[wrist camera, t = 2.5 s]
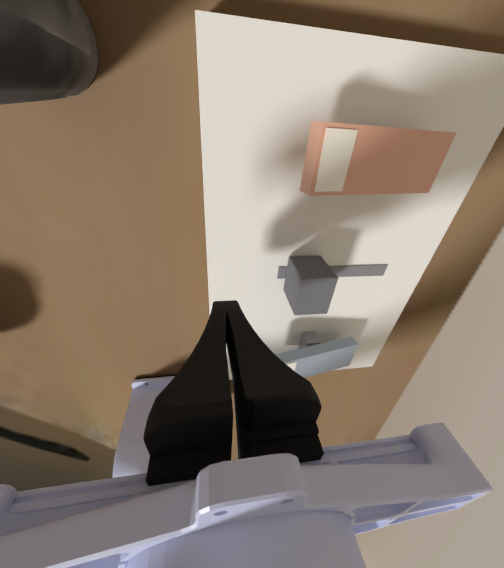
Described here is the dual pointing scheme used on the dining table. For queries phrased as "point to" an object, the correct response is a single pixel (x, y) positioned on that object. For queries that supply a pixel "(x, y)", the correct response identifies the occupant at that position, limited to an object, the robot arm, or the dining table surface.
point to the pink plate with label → (371, 159)
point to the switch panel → (290, 162)
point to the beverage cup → (45, 50)
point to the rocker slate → (320, 356)
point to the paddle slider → (309, 285)
